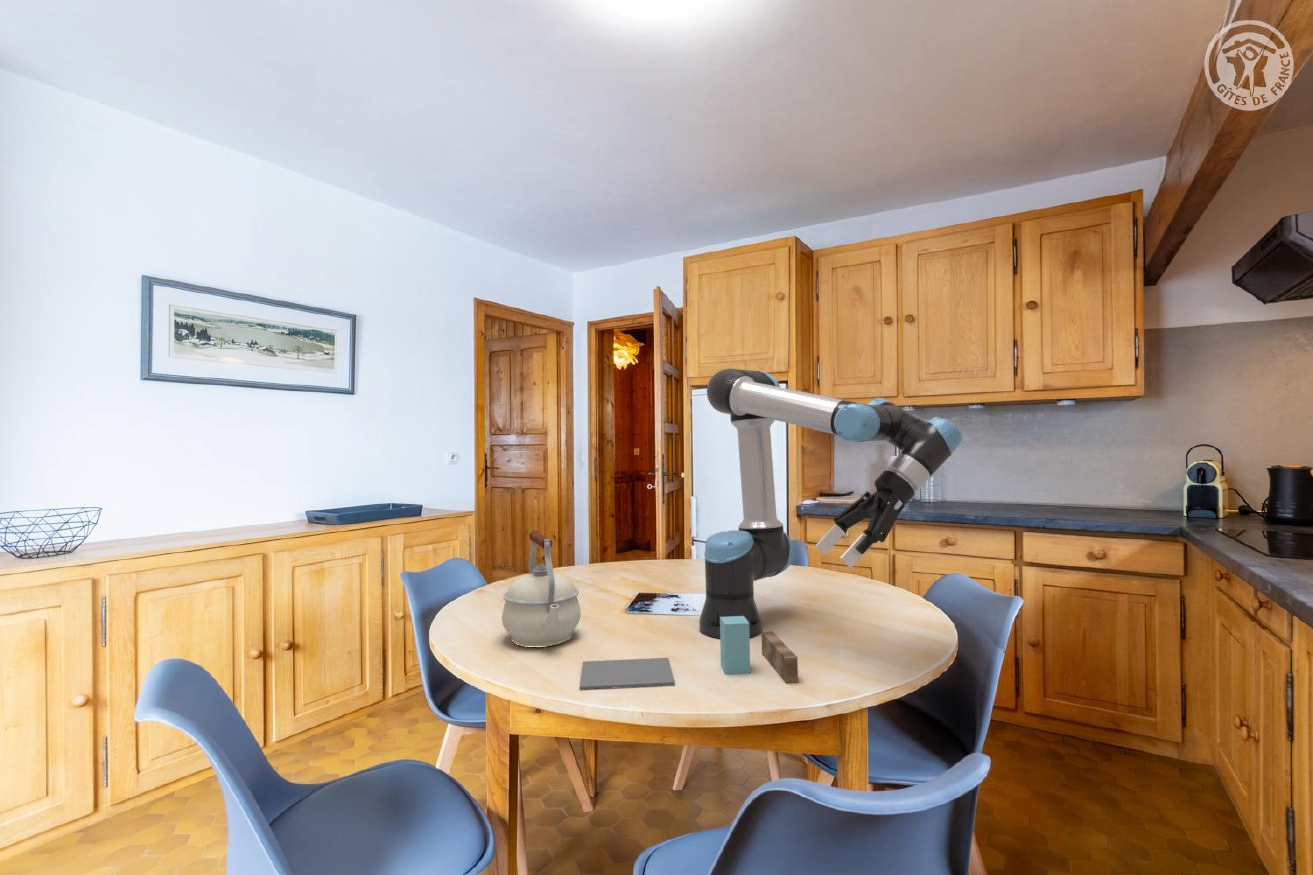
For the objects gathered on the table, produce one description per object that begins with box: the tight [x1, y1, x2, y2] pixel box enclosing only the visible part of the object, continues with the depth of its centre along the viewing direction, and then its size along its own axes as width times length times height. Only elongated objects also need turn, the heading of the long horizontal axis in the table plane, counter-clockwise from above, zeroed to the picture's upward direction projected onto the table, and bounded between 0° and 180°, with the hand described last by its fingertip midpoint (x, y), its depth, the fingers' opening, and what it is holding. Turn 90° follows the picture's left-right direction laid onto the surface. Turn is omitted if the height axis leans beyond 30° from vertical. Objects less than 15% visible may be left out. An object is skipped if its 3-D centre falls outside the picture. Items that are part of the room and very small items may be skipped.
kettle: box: [501, 530, 581, 647], centre depth 141 cm, size 25×18×25 cm
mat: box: [579, 657, 676, 690], centre depth 119 cm, size 13×18×1 cm
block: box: [719, 616, 751, 676], centre depth 121 cm, size 5×5×10 cm
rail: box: [761, 630, 799, 684], centre depth 122 cm, size 16×2×5 cm, turn 6°
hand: (831, 556), depth 122 cm, fingers open, 13 cm apart
